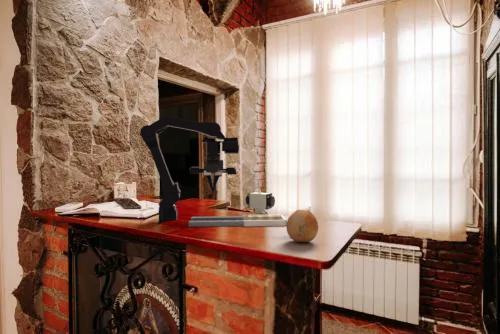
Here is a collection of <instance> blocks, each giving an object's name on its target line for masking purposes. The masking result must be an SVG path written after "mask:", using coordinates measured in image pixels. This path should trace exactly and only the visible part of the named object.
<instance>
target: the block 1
mask: <svg viewBox="0 0 500 334" xmlns="http://www.w3.org/2000/svg"><path fill="white" fill-rule="evenodd" d="M247 215H248V220H259V215H253V214H247Z"/></svg>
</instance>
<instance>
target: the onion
mask: <svg viewBox="0 0 500 334" xmlns="http://www.w3.org/2000/svg"><path fill="white" fill-rule="evenodd" d="M318 222H319V221H318V219H317V218H316V216H315V214H314V213H312V212H311V211H310V210H307V209H297V210H295V211H294V212H292V213H291V214H290V215H289V216H288V218H287V225H286V226H285V227H286V232H287V235H288V236H289V237H290V239H291V240H293V241H294V242H295V243H310V242H312V241H313V240H315V238H316V237H317V236H318V235H317V234H318V232H319V223H318Z"/></svg>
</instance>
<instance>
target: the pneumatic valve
mask: <svg viewBox="0 0 500 334" xmlns="http://www.w3.org/2000/svg"><path fill="white" fill-rule="evenodd" d="M275 199H276V198H275V196H273V193H269V192H262V190H259V191H258V192H257V191H256V192H255V191H253V192H248V194H247V195H246V197H245V204H246V205H247V206H248V207H247V208H248V209H255V211H253V214H252V215H260V214H268V213H267V212H266V210H270V209H272V208H274V206H275V204H276V200H275Z"/></svg>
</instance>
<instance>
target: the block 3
mask: <svg viewBox="0 0 500 334" xmlns="http://www.w3.org/2000/svg"><path fill="white" fill-rule="evenodd" d="M269 216H270V220H280V216H279V215H269Z"/></svg>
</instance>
